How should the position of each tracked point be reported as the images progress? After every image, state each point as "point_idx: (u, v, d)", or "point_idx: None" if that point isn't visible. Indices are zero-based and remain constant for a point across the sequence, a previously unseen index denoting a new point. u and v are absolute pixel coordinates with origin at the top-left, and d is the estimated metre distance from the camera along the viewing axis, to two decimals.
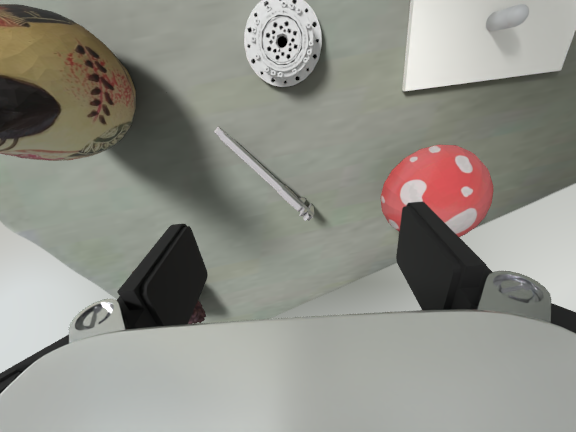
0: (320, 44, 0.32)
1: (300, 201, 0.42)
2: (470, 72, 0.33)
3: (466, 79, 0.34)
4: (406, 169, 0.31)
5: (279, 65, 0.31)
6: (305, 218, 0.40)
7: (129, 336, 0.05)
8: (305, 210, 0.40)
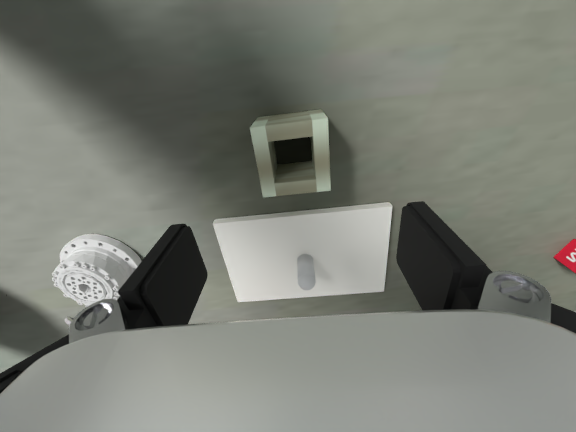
0: None
1: None
2: (296, 291, 0.34)
3: (294, 296, 0.34)
4: None
5: (90, 302, 0.31)
6: None
7: (129, 336, 0.05)
8: None
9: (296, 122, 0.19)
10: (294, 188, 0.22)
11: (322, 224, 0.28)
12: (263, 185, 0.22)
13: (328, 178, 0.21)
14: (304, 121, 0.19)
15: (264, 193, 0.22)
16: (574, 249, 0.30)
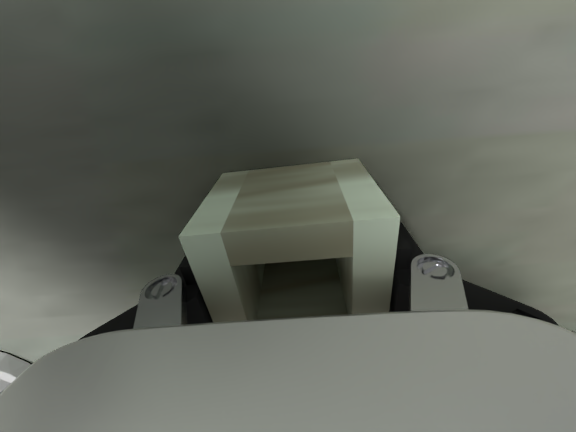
0: None
1: None
2: None
3: None
4: None
5: None
6: None
7: (129, 336, 0.05)
8: None
9: (308, 224, 0.07)
10: None
11: None
12: None
13: None
14: (331, 222, 0.07)
15: None
16: None
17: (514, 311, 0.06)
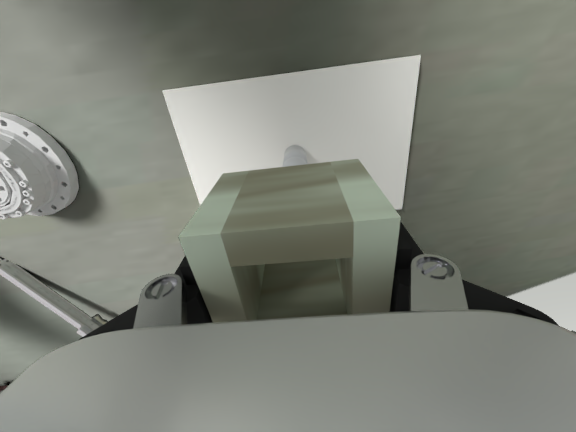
0: (64, 171, 0.24)
1: None
2: None
3: None
4: None
5: None
6: None
7: (129, 336, 0.05)
8: None
9: (308, 224, 0.07)
10: None
11: (318, 90, 0.20)
12: None
13: None
14: (331, 223, 0.07)
15: None
16: None
17: (514, 311, 0.06)
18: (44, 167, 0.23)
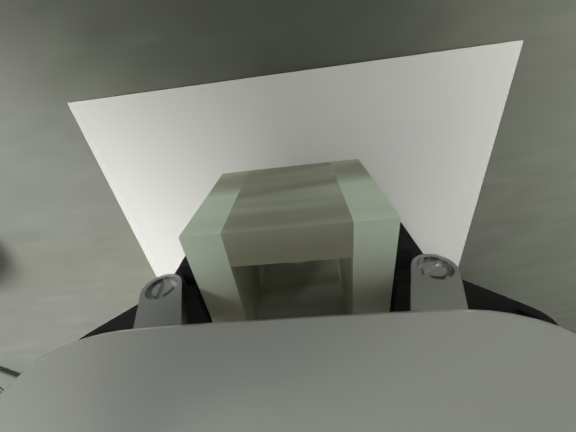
0: None
1: None
2: None
3: None
4: None
5: None
6: None
7: (129, 336, 0.05)
8: None
9: (308, 225, 0.07)
10: None
11: (335, 103, 0.11)
12: None
13: None
14: (331, 223, 0.07)
15: None
16: None
17: (514, 311, 0.06)
18: None
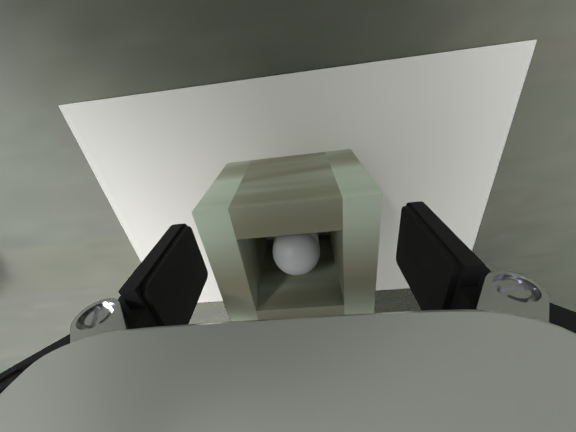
0: None
1: None
2: None
3: None
4: None
5: None
6: None
7: (129, 336, 0.05)
8: None
9: (303, 201, 0.08)
10: None
11: (338, 106, 0.11)
12: (233, 313, 0.10)
13: (370, 304, 0.10)
14: (323, 199, 0.08)
15: None
16: None
17: None
18: None
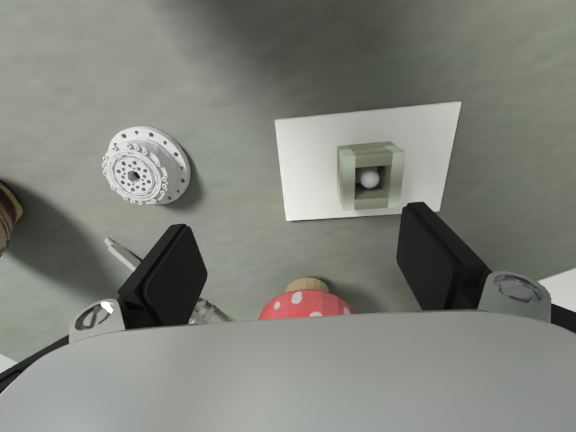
0: (185, 171, 0.31)
1: (194, 310, 0.41)
2: None
3: (346, 214, 0.33)
4: (269, 315, 0.30)
5: (136, 196, 0.30)
6: None
7: (129, 336, 0.05)
8: (194, 322, 0.39)
9: (380, 154, 0.25)
10: (370, 204, 0.27)
11: (386, 123, 0.28)
12: (345, 201, 0.27)
13: (399, 197, 0.27)
14: (386, 153, 0.25)
15: (345, 207, 0.27)
16: None
17: None
18: (174, 167, 0.31)
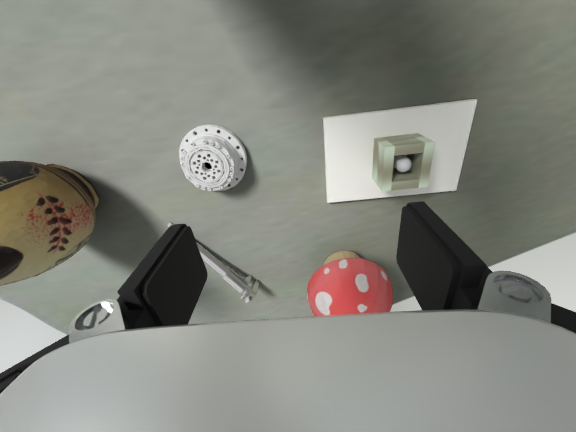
0: (245, 161, 0.37)
1: (244, 283, 0.47)
2: (380, 190, 0.39)
3: (378, 195, 0.40)
4: (320, 279, 0.37)
5: (207, 183, 0.36)
6: (246, 300, 0.46)
7: (129, 336, 0.05)
8: (246, 293, 0.46)
9: (414, 144, 0.31)
10: (404, 185, 0.34)
11: (415, 118, 0.34)
12: (384, 183, 0.33)
13: (427, 178, 0.33)
14: (419, 143, 0.31)
15: (383, 188, 0.34)
16: None
17: None
18: (236, 158, 0.37)
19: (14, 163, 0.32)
